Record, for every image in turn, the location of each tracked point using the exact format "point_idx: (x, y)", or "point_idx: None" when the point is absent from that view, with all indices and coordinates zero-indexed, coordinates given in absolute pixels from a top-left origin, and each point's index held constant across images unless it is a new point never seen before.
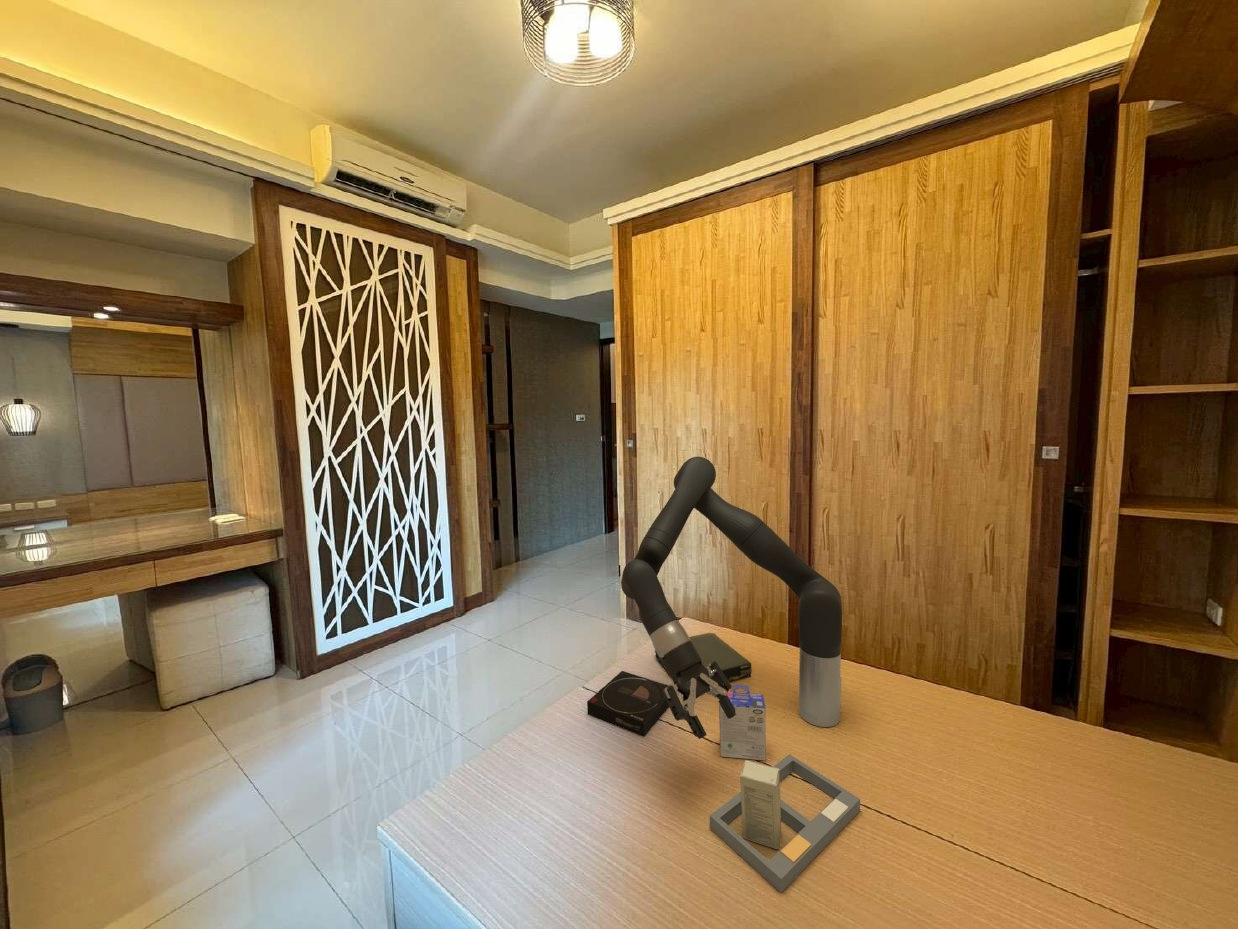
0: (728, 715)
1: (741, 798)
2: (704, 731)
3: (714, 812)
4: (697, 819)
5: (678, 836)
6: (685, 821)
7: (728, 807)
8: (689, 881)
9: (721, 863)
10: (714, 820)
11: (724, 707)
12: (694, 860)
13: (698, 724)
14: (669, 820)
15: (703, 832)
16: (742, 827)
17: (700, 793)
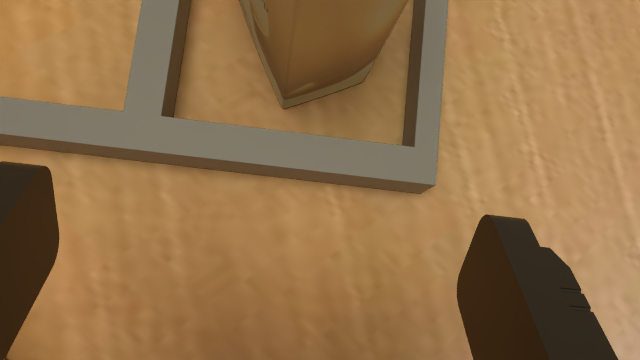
0: (45, 245)
1: (401, 11)
2: (503, 229)
3: (408, 178)
4: (424, 254)
5: None
6: None
7: (342, 150)
8: (628, 121)
9: (500, 81)
10: (436, 158)
11: (8, 303)
12: (562, 154)
13: (558, 292)
14: None
15: (452, 200)
16: (371, 66)
17: (308, 331)
